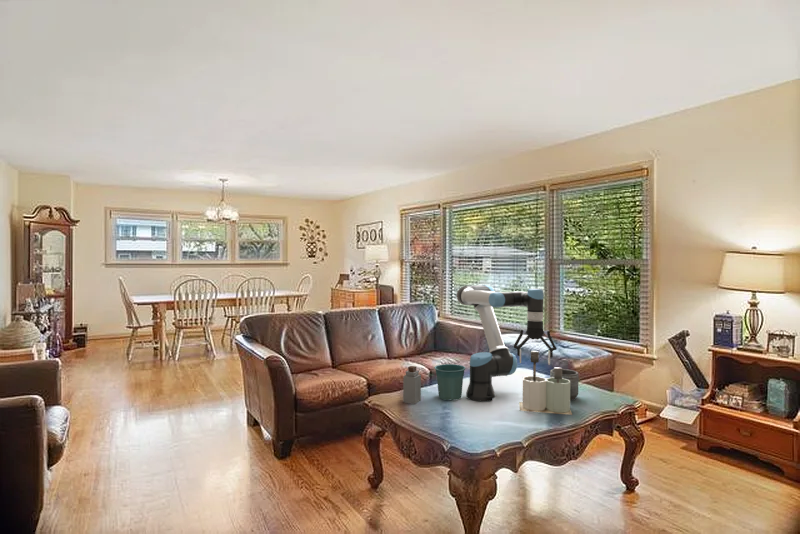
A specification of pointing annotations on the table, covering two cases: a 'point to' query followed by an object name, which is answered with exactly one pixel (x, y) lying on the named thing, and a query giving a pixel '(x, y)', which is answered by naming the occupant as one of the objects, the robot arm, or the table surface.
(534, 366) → the press plunger
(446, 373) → the flower pot
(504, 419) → the table surface
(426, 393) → the table surface
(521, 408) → the board
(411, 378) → the perfume bottle
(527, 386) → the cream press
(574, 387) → the planter
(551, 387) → the sage press
